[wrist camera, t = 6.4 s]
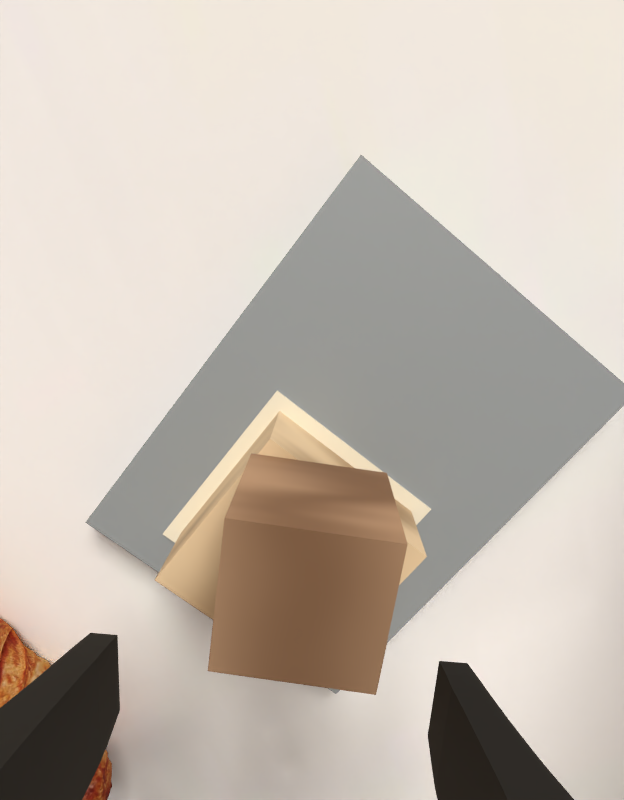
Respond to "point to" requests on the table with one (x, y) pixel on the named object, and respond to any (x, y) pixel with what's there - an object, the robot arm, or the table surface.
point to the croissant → (14, 670)
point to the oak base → (202, 538)
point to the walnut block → (307, 575)
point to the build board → (379, 386)
